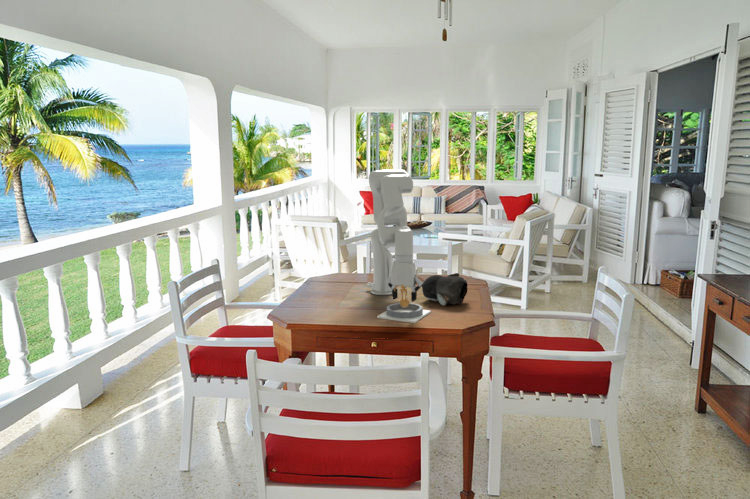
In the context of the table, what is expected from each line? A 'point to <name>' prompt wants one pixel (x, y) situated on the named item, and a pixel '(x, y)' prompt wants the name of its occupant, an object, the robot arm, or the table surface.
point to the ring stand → (404, 313)
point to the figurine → (404, 301)
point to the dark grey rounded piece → (445, 289)
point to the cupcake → (417, 275)
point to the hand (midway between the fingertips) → (404, 299)
